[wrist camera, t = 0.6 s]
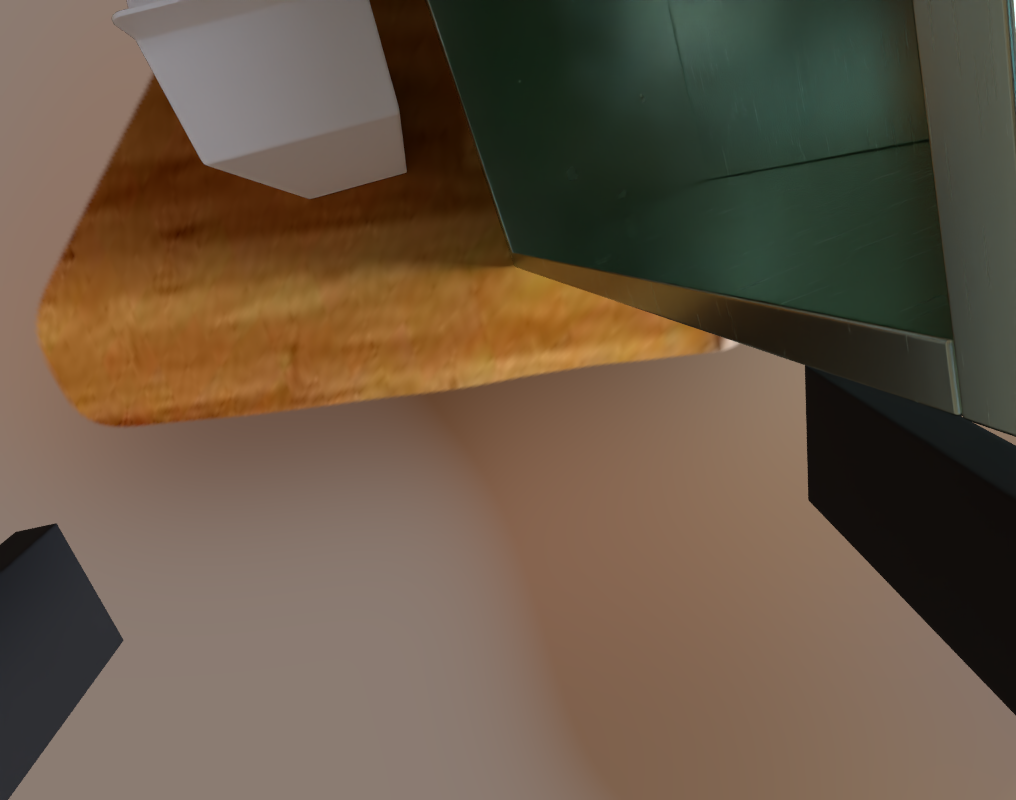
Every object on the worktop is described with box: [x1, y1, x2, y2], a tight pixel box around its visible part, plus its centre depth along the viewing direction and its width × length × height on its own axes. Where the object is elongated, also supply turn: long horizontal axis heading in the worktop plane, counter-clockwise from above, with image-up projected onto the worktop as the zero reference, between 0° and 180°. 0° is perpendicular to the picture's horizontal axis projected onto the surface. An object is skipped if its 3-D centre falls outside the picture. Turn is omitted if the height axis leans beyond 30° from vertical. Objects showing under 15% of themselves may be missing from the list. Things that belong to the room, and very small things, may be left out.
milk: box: [112, 0, 407, 199], centre depth 25 cm, size 6×6×22 cm
